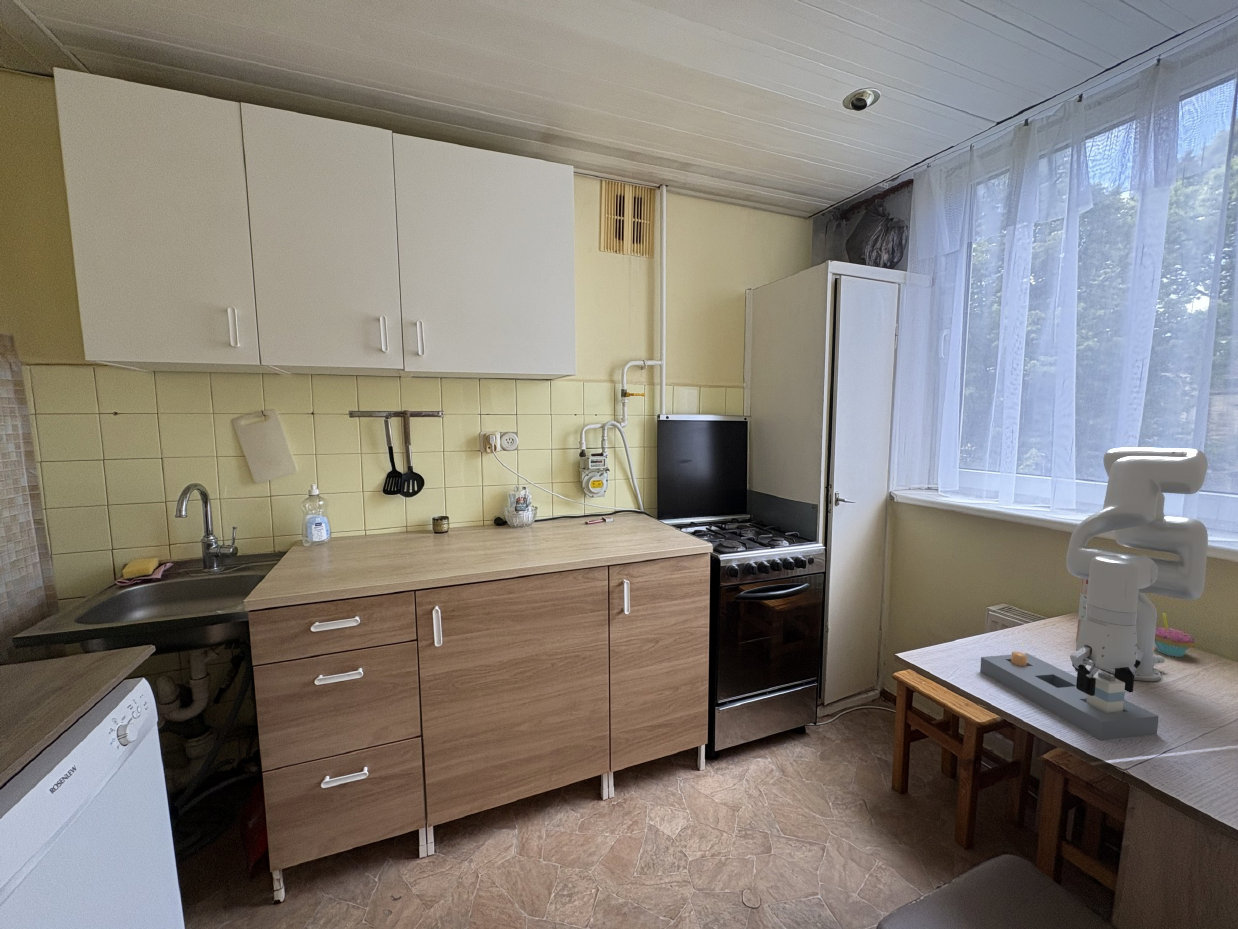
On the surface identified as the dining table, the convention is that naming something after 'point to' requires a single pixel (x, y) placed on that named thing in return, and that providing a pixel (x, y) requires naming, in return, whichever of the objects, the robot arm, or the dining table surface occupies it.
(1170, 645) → the cupcake
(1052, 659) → the dining table surface
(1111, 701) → the plug
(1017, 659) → the brown egg
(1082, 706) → the panel
